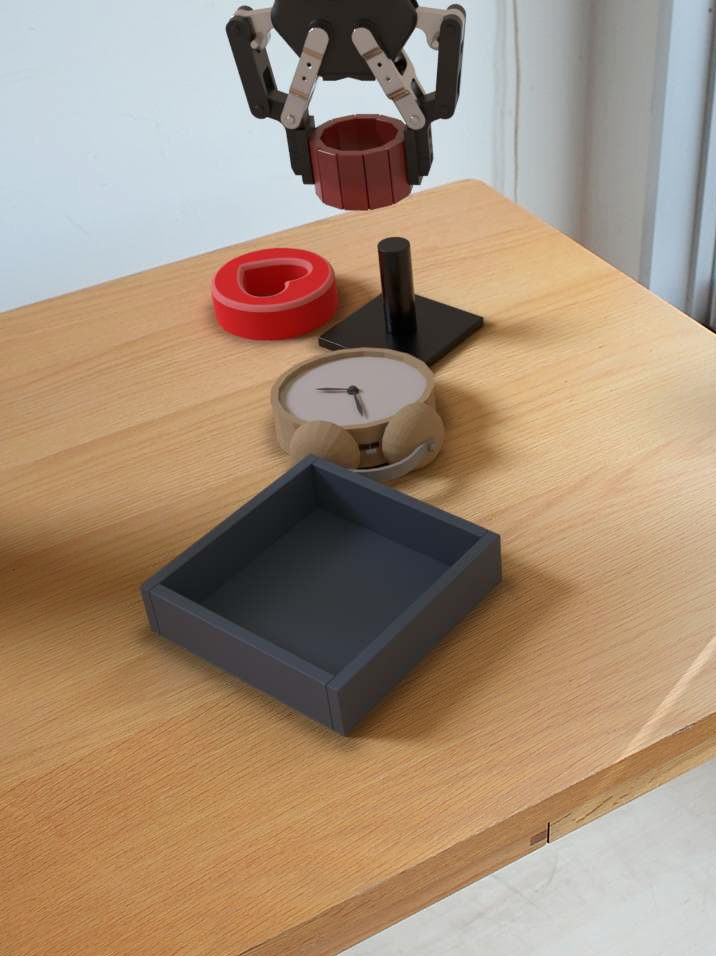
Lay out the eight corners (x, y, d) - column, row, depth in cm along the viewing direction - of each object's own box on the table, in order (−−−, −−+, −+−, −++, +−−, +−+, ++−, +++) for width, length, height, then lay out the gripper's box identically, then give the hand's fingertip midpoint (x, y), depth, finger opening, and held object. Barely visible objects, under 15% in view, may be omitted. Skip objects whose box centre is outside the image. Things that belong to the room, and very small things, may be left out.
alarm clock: (415, 335, 96) (462, 418, 83) (422, 397, 98) (469, 487, 85) (260, 361, 94) (284, 450, 81) (271, 424, 96) (296, 520, 83)
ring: (297, 196, 82) (288, 141, 80) (359, 159, 86) (353, 106, 83) (370, 219, 79) (364, 163, 77) (432, 181, 83) (428, 126, 80)
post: (319, 348, 100) (306, 254, 95) (392, 296, 106) (384, 205, 101) (412, 383, 96) (404, 287, 91) (484, 328, 102) (480, 234, 97)
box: (152, 637, 77) (138, 585, 74) (318, 503, 86) (310, 452, 83) (346, 744, 70) (337, 691, 67) (503, 586, 79) (500, 534, 76)
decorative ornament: (240, 276, 109) (233, 242, 107) (352, 284, 108) (348, 249, 106) (198, 338, 102) (191, 302, 100) (318, 347, 100) (313, 311, 98)
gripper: (471, -129, 74) (485, 154, 84) (220, -125, 75) (265, 152, 86) (454, -90, 68) (471, 209, 78) (182, -87, 69) (235, 206, 80)
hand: (363, 178), depth 82 cm, fingers closed on ring, 6 cm apart
